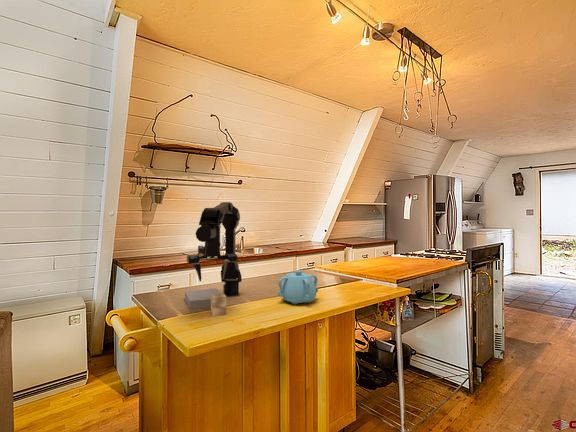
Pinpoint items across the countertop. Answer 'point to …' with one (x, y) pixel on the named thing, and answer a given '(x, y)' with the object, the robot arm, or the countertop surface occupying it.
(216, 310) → the beech block
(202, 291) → the grey riser
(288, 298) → the decorative pot
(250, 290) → the countertop surface
